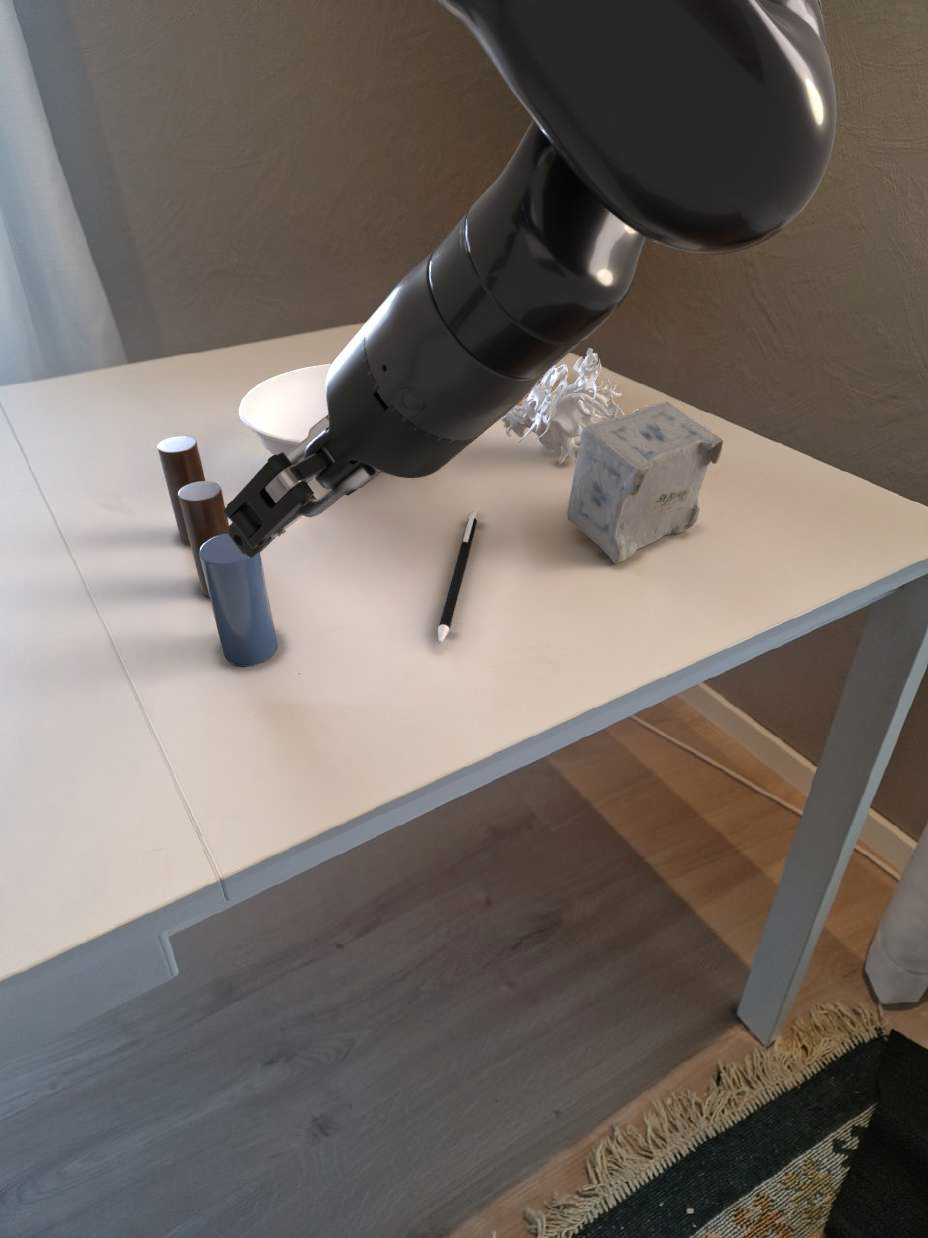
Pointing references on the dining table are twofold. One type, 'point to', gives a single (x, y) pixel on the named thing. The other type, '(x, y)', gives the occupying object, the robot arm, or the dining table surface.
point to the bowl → (286, 407)
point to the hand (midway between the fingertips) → (293, 510)
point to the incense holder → (640, 478)
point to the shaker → (238, 602)
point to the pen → (457, 578)
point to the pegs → (192, 497)
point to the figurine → (564, 407)
